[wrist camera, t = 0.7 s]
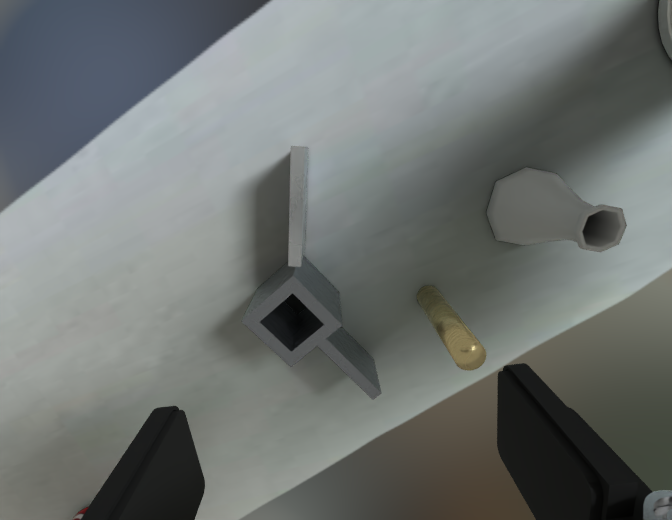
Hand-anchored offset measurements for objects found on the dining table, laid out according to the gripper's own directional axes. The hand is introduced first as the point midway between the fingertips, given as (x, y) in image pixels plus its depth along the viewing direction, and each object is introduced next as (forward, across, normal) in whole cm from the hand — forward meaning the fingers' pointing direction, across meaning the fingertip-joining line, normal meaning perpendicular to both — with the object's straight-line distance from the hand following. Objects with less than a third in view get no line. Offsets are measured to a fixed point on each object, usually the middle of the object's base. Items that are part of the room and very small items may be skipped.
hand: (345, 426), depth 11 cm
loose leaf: (+24, +2, -4) cm, 24 cm away
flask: (+24, -18, -1) cm, 30 cm away
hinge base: (+24, +2, +8) cm, 25 cm away
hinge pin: (+24, -9, +7) cm, 27 cm away
